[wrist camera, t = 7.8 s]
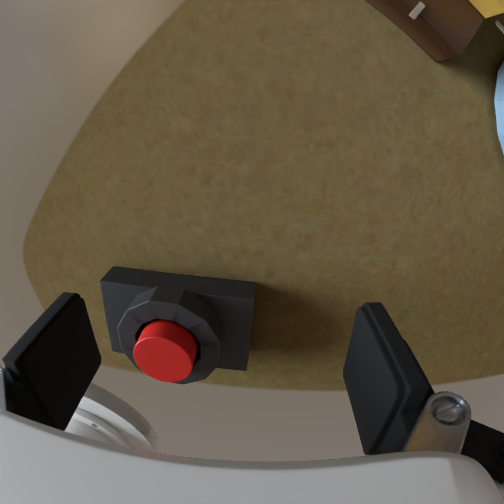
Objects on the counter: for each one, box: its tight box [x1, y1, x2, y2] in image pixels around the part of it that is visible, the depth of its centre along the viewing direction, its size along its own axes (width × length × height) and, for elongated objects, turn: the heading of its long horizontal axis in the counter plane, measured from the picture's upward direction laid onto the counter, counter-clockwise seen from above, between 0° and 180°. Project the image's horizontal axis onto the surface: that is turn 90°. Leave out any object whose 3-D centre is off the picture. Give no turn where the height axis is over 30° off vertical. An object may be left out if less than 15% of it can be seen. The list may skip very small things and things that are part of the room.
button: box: [133, 320, 197, 382], centre depth 18 cm, size 4×4×2 cm
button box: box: [100, 267, 256, 384], centre depth 20 cm, size 10×6×4 cm, turn 85°
